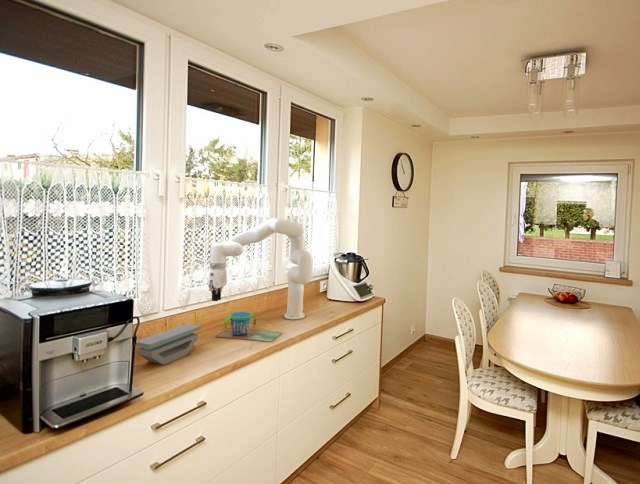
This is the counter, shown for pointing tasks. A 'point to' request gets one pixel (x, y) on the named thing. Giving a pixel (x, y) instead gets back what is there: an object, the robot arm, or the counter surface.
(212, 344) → the counter surface
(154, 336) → the sharpening stone
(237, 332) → the snack cup
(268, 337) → the placemat
